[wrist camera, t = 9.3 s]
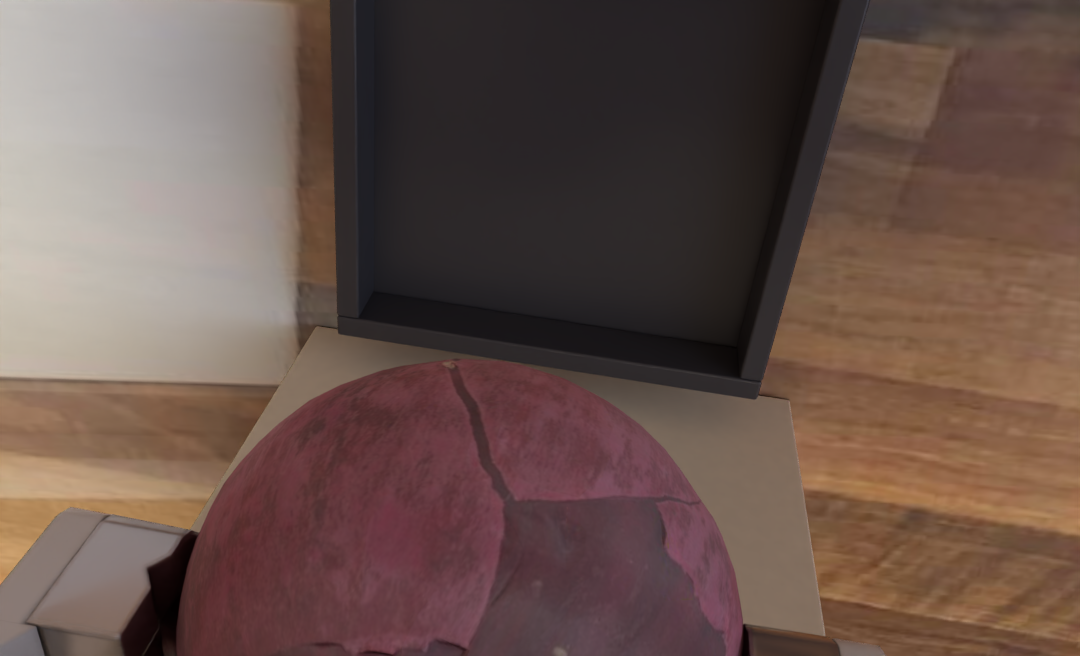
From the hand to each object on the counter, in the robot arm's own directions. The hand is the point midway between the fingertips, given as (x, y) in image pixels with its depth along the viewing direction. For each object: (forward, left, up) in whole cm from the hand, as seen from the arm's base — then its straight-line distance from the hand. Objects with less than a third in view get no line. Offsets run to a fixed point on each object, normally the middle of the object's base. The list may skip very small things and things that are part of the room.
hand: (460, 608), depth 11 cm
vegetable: (0, 0, -4) cm, 4 cm away
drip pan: (0, 0, -15) cm, 15 cm away
